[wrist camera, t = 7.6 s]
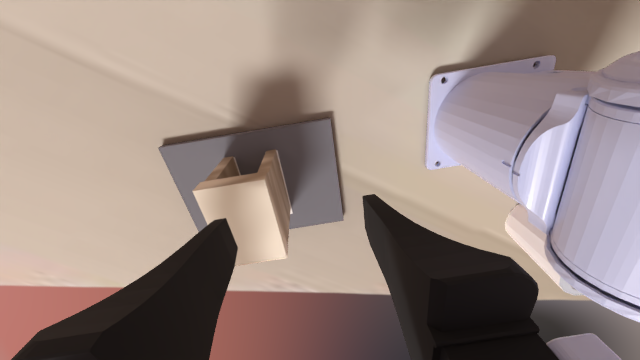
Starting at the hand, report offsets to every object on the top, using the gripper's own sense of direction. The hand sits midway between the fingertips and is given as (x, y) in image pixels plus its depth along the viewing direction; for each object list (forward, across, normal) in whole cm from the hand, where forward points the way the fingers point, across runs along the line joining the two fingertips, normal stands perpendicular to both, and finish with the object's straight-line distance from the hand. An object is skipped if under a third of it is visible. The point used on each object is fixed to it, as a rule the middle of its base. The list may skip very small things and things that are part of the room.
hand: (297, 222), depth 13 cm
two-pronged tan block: (+9, +4, +2) cm, 10 cm away
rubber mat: (+9, +4, +2) cm, 10 cm away
